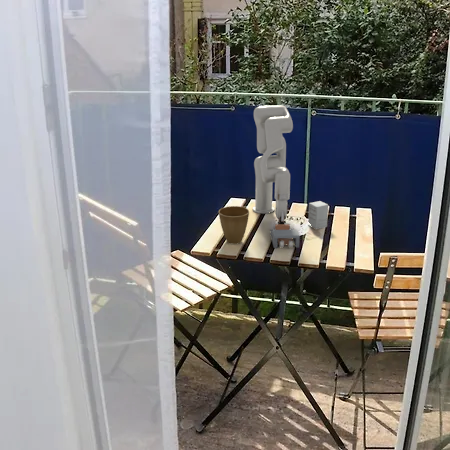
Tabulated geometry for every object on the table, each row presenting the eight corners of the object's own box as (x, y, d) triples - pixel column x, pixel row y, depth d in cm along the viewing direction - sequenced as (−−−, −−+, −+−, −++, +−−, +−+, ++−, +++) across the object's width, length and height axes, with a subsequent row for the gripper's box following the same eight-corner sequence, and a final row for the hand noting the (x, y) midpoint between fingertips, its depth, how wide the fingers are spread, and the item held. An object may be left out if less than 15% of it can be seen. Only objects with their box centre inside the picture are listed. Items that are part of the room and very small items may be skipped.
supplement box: (319, 222, 302) (320, 200, 298) (327, 227, 296) (328, 204, 291) (307, 225, 299) (308, 202, 295) (315, 229, 293) (317, 206, 288)
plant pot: (221, 235, 287) (221, 205, 281) (250, 236, 284) (251, 206, 278) (216, 246, 273) (216, 215, 267) (246, 248, 270) (247, 217, 265)
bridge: (270, 234, 287) (270, 222, 285) (293, 233, 288) (294, 222, 285) (273, 247, 271) (274, 235, 268) (299, 247, 271) (299, 235, 269)
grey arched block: (274, 236, 285) (275, 224, 283) (288, 236, 286) (289, 224, 283) (278, 245, 274) (278, 233, 272) (292, 245, 274) (292, 232, 272)
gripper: (273, 191, 291) (272, 224, 298) (276, 200, 277) (275, 234, 284) (287, 190, 291) (286, 224, 298) (291, 200, 277) (290, 234, 284)
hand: (281, 229), depth 291 cm, fingers closed
